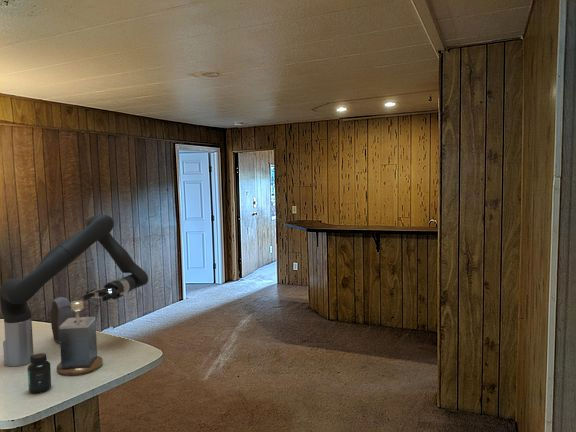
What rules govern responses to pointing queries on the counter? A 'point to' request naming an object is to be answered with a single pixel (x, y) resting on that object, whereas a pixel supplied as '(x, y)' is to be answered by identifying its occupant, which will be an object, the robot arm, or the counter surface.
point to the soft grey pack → (60, 315)
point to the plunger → (77, 308)
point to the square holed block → (78, 347)
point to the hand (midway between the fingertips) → (93, 298)
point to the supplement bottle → (39, 374)
